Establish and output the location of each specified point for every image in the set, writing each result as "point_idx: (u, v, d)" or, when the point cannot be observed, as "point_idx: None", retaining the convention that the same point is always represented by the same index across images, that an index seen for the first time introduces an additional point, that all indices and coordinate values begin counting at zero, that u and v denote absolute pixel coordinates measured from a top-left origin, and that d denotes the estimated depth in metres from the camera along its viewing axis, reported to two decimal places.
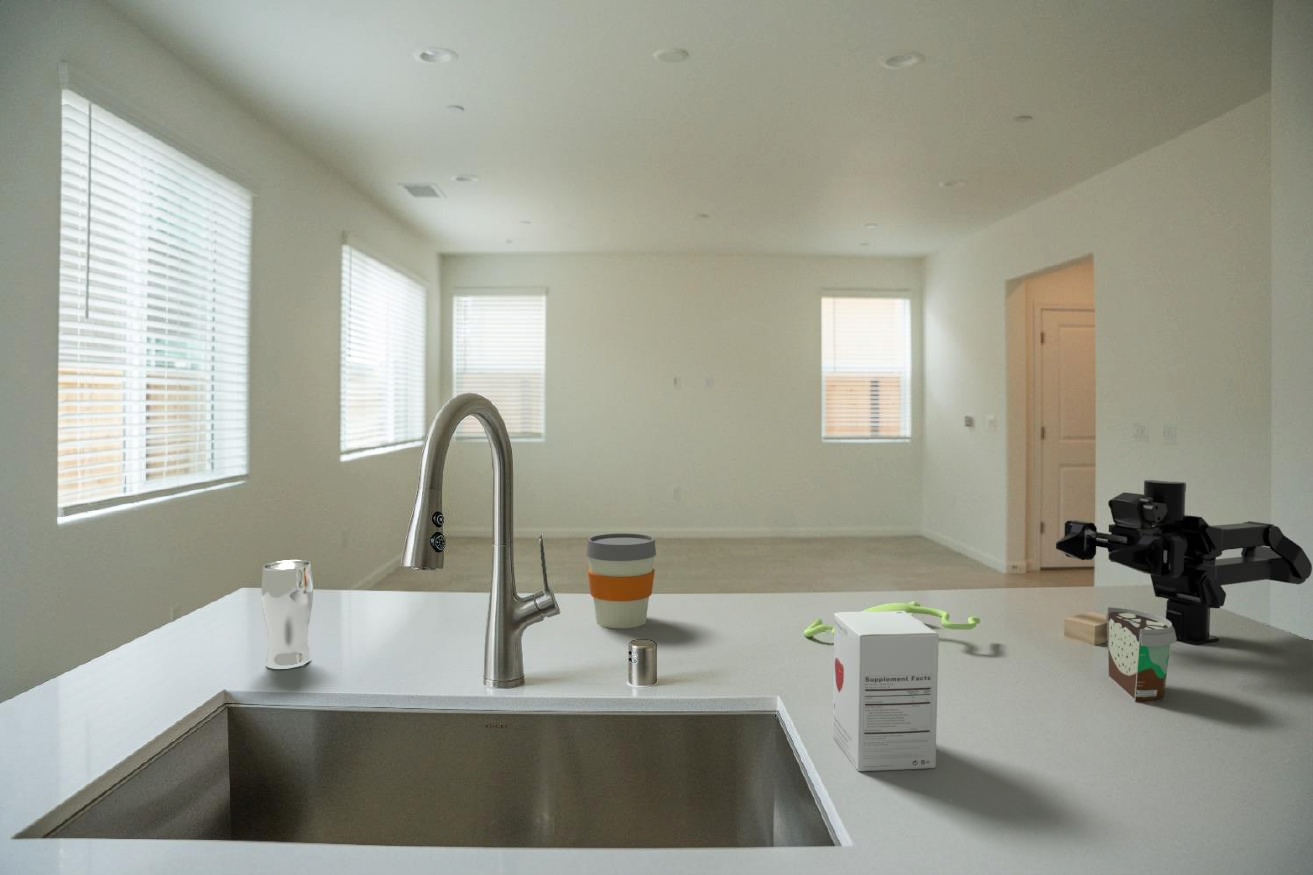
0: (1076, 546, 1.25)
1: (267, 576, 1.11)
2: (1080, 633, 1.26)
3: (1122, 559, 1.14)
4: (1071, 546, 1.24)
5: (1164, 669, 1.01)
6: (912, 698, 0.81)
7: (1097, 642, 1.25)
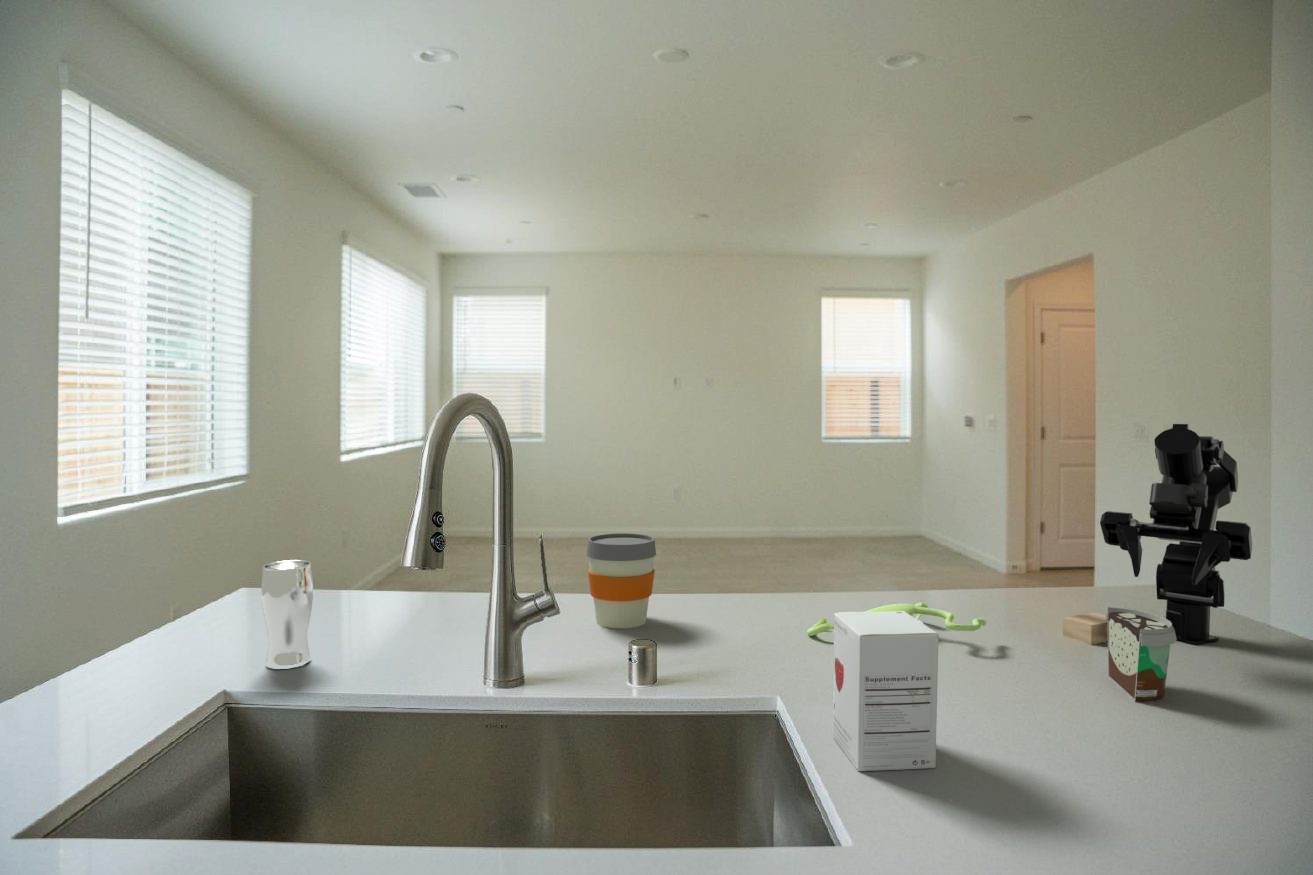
0: (1139, 552, 1.17)
1: (267, 576, 1.11)
2: (1078, 633, 1.27)
3: (1201, 575, 1.10)
4: (1139, 557, 1.16)
5: (1164, 669, 1.01)
6: (912, 698, 0.81)
7: (1094, 641, 1.25)
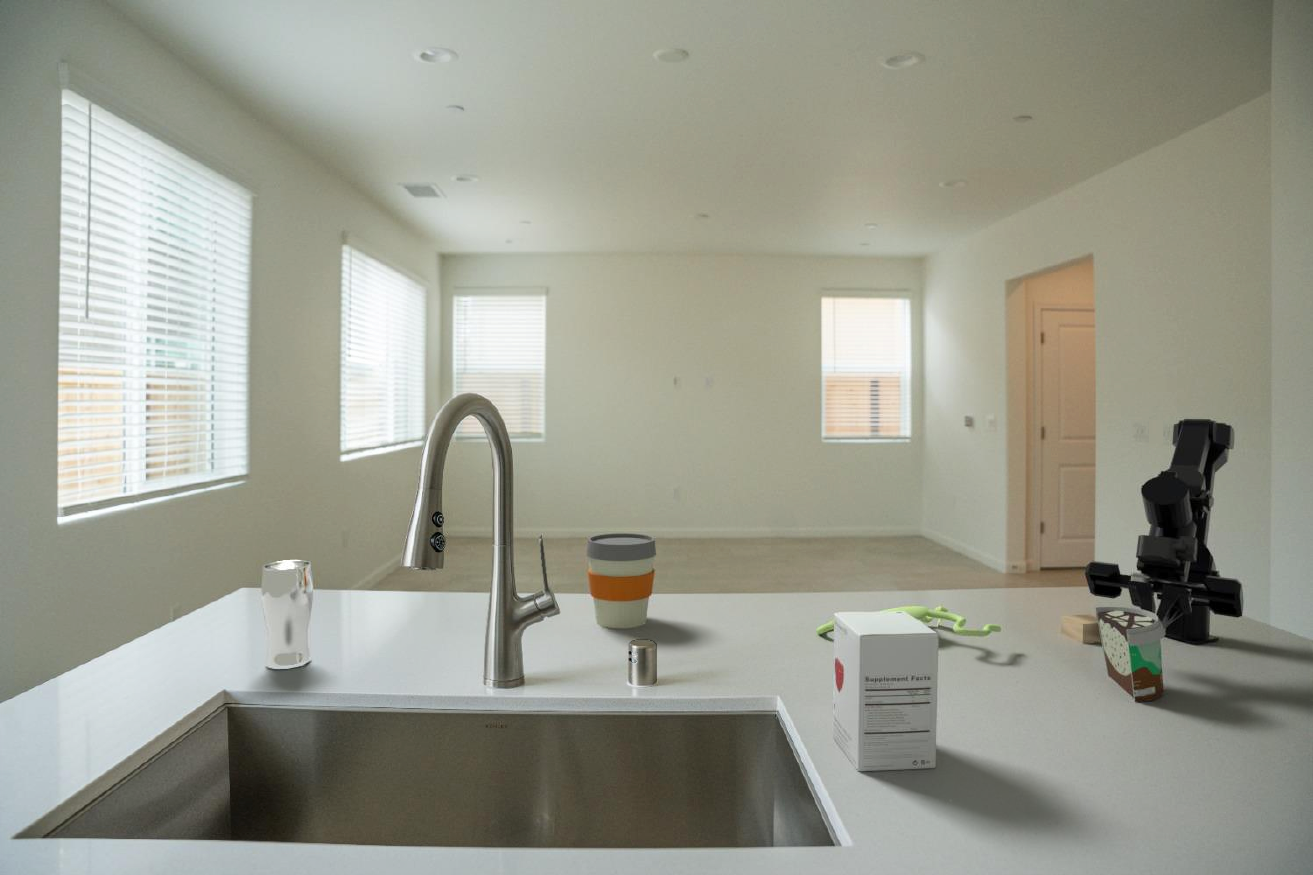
0: (1153, 610, 1.09)
1: (267, 576, 1.11)
2: (1072, 631, 1.28)
3: None
4: None
5: (1158, 665, 1.01)
6: (912, 698, 0.81)
7: (1087, 640, 1.25)
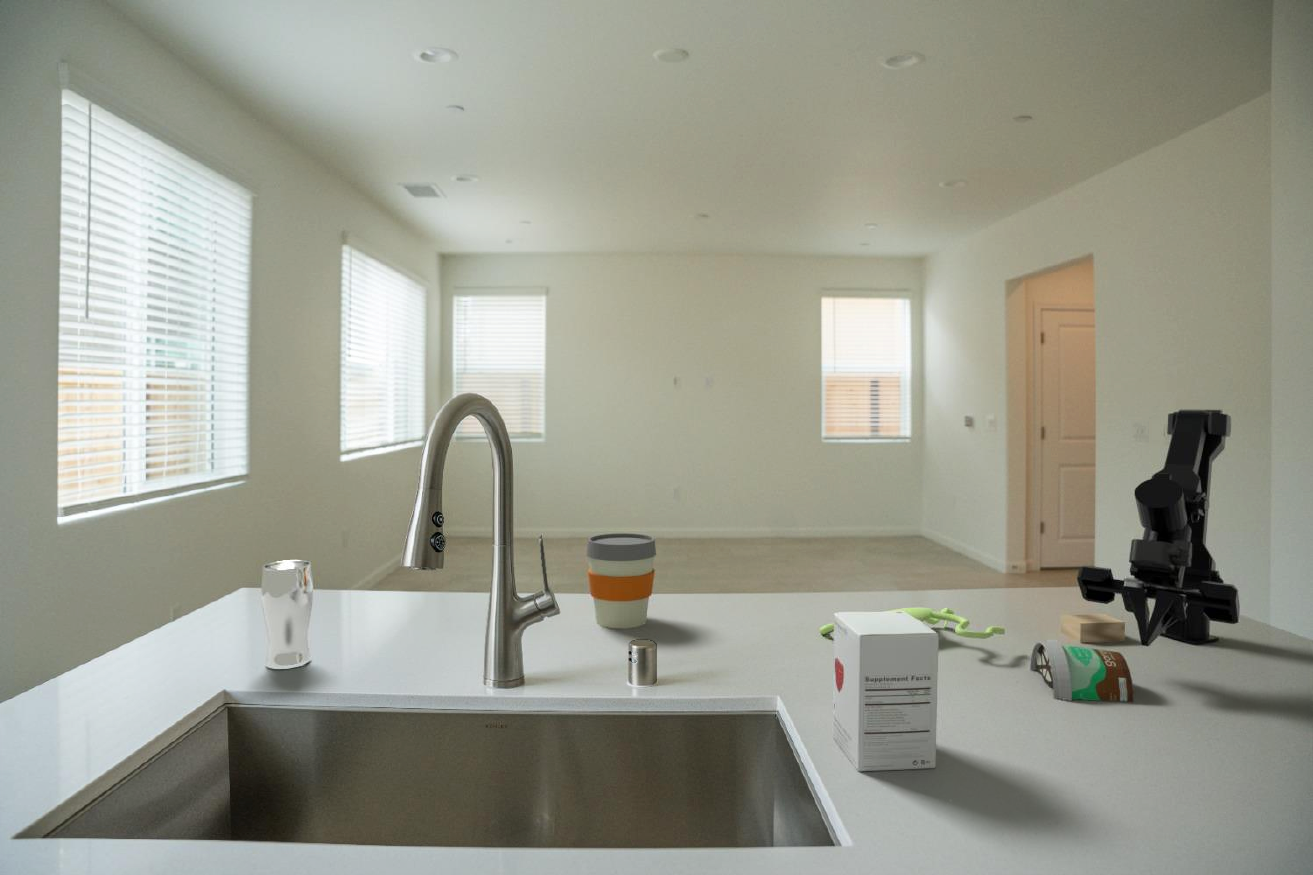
0: (1147, 616, 1.06)
1: (267, 576, 1.11)
2: (1071, 630, 1.28)
3: (1155, 636, 1.04)
4: (1147, 623, 1.05)
5: (1095, 667, 1.02)
6: (912, 698, 0.81)
7: (1085, 640, 1.26)
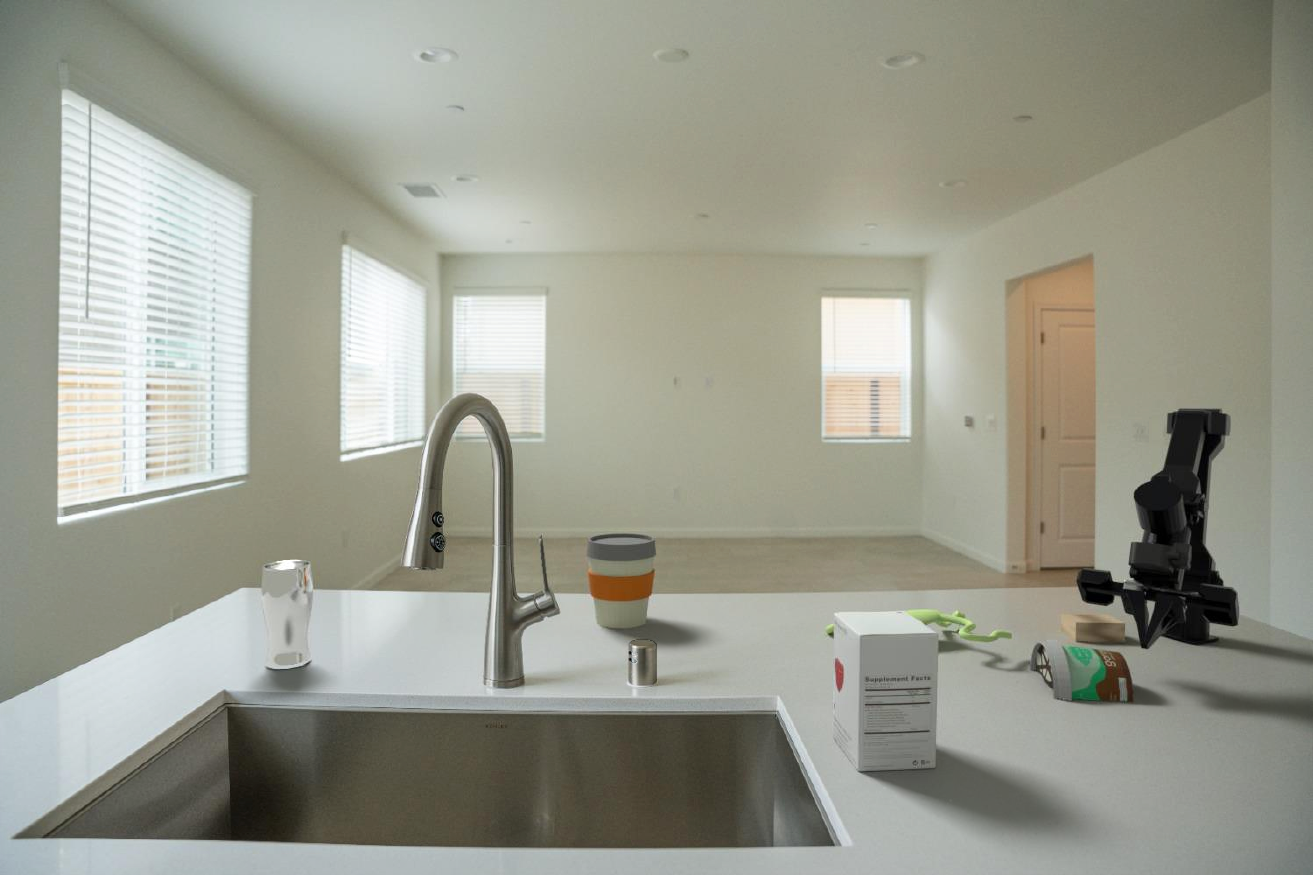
0: (1146, 619, 1.06)
1: (267, 576, 1.11)
2: (1068, 629, 1.28)
3: (1154, 639, 1.03)
4: (1146, 626, 1.05)
5: (1095, 667, 1.02)
6: (912, 698, 0.81)
7: (1081, 639, 1.26)
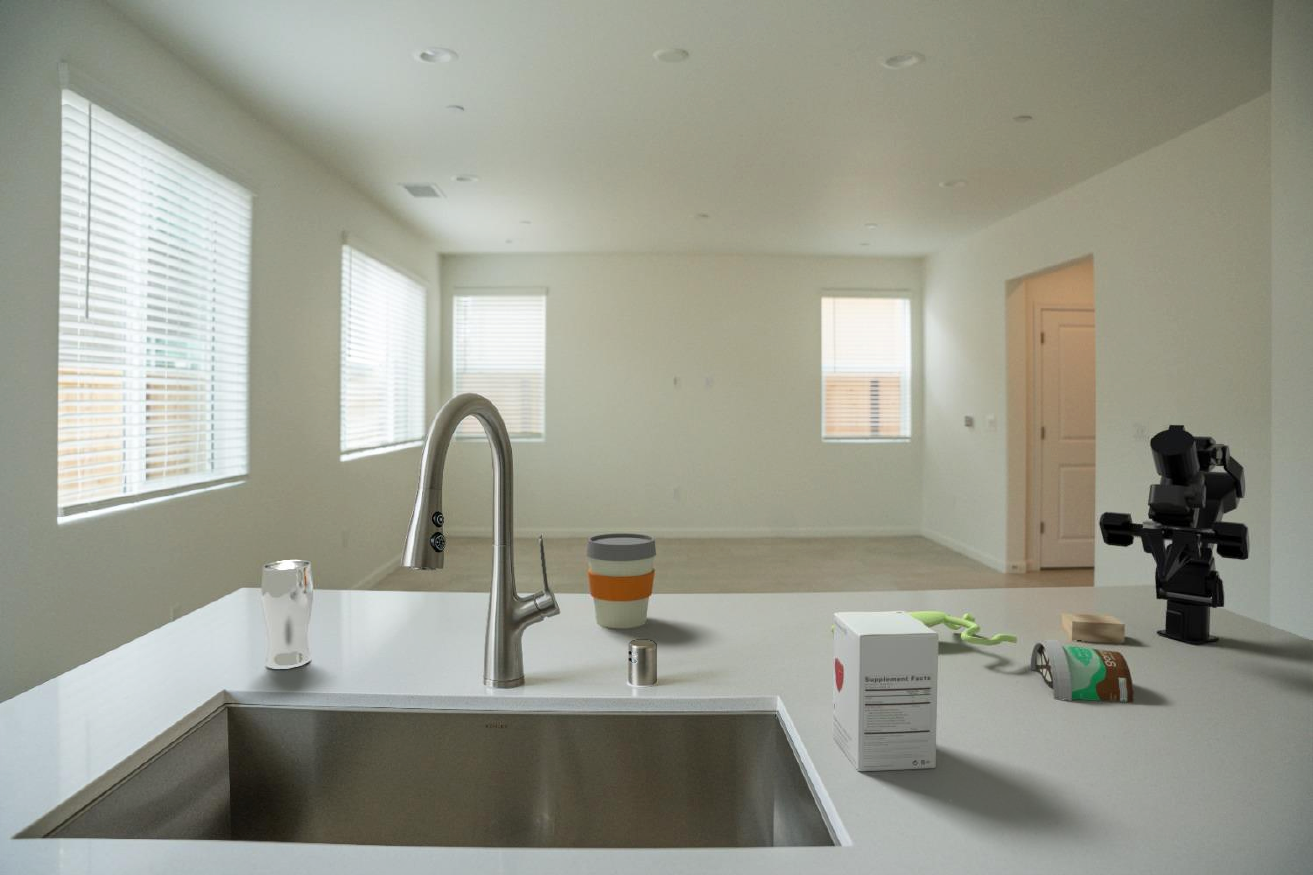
0: (1164, 555, 1.16)
1: (267, 576, 1.11)
2: (1067, 628, 1.29)
3: (1172, 572, 1.13)
4: (1164, 561, 1.15)
5: (1095, 667, 1.02)
6: (912, 698, 0.81)
7: (1078, 638, 1.27)
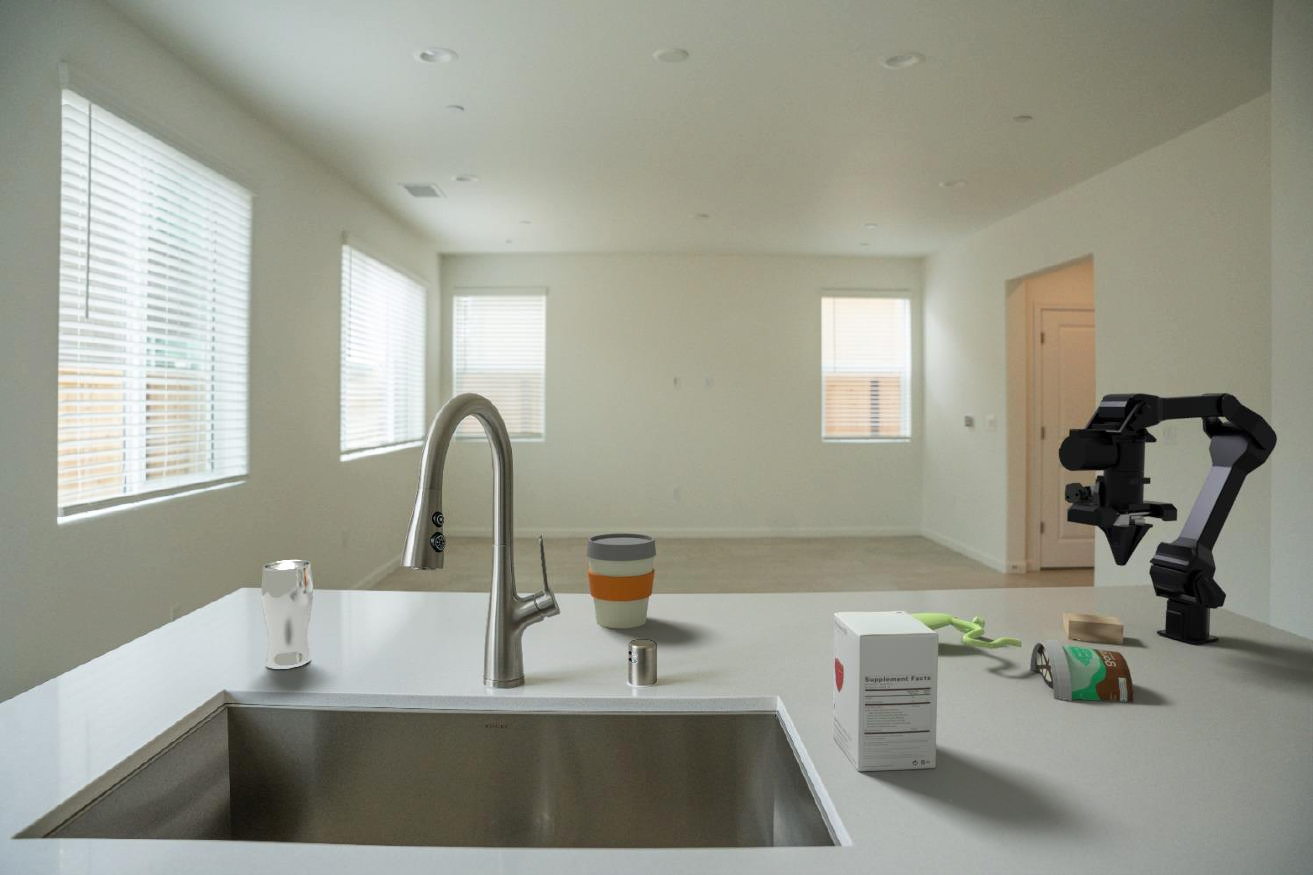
0: None
1: (267, 576, 1.11)
2: (1065, 627, 1.30)
3: (1120, 555, 1.24)
4: None
5: (1095, 667, 1.02)
6: (912, 698, 0.81)
7: (1074, 637, 1.27)
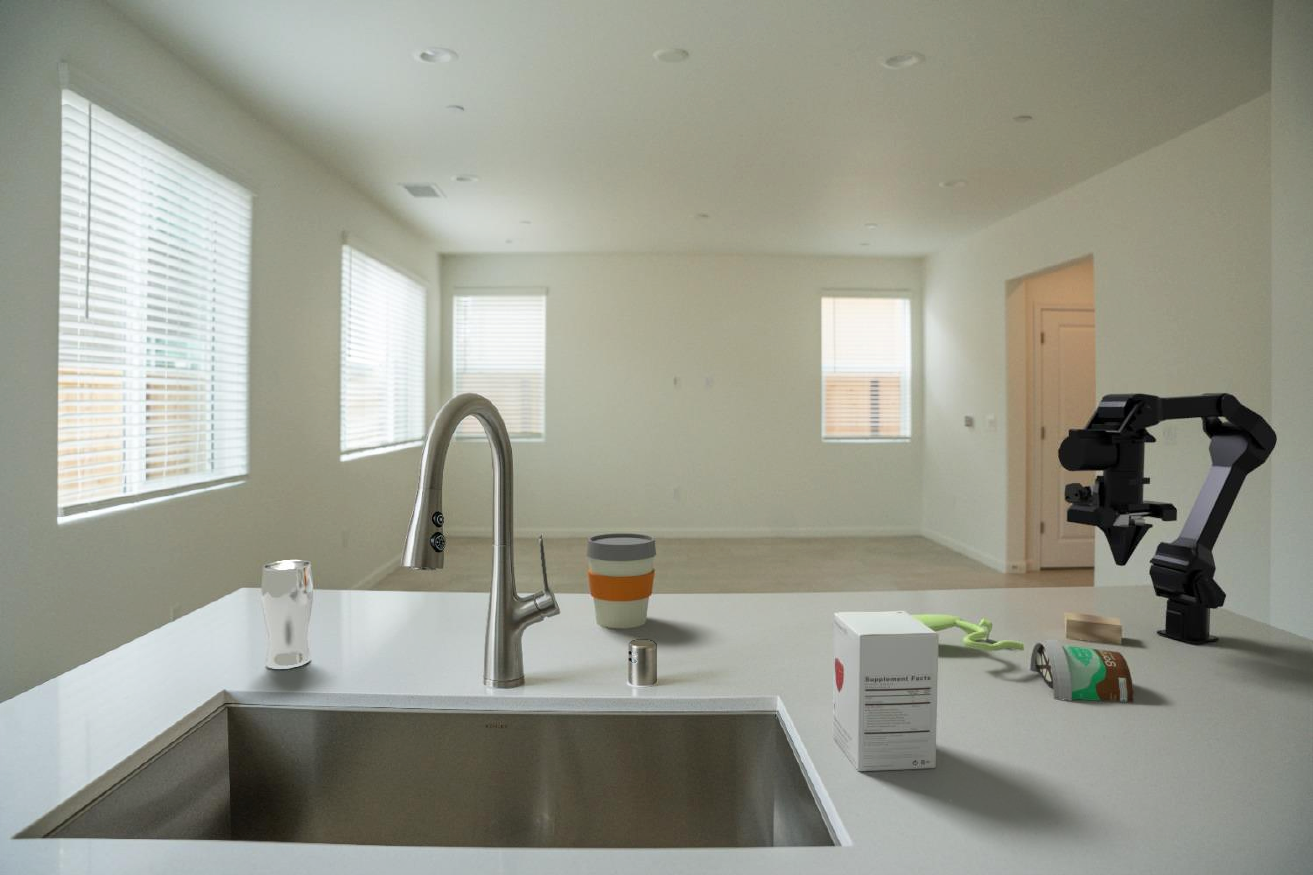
0: None
1: (267, 576, 1.11)
2: (1065, 626, 1.30)
3: (1119, 555, 1.24)
4: None
5: (1095, 667, 1.02)
6: (912, 698, 0.81)
7: (1072, 636, 1.28)
